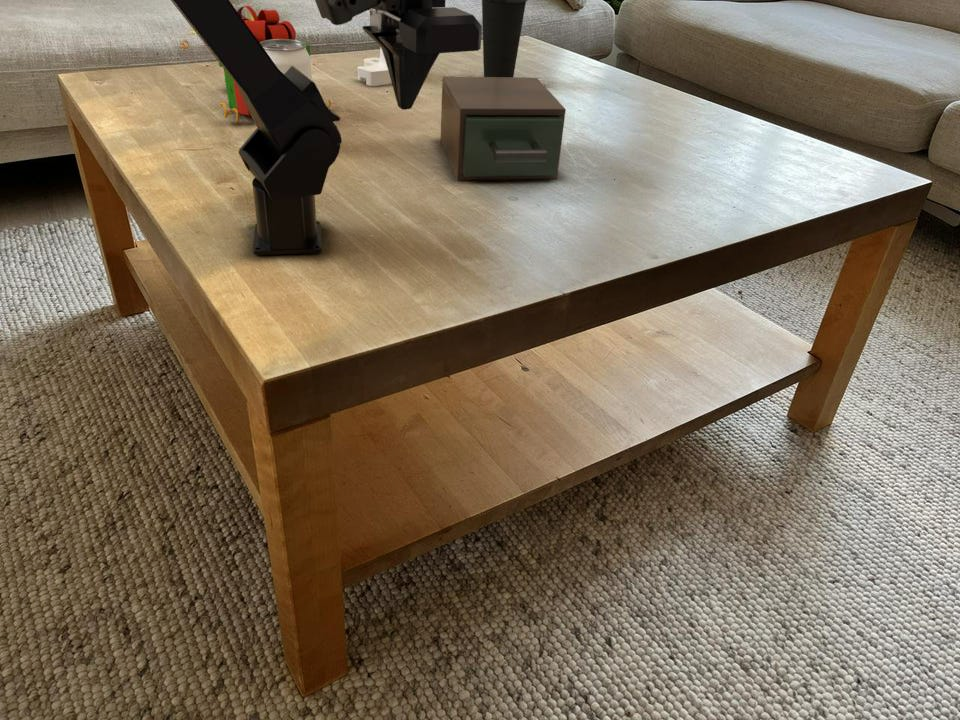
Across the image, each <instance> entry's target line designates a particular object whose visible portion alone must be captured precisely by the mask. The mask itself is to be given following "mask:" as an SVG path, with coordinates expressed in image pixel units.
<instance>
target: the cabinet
mask: <svg viewBox="0 0 960 720" xmlns="http://www.w3.org/2000/svg"><path fill="white" fill-rule="evenodd" d="M441 80H442V84H441V111H440V112H441V113H440V115H441V116H440V117H441V118H440V144H441V147H442V149H443V152H444V153H445V156H446V158H447V160H448V163H449V164H450V167H451V169H452V172H453V174H454V177H455V178H456V180H457V181H488V180H489V181H491V180H494V181H495V180H497V181H499V180H557V179H558V175H559V166H560V159H561V151H562V150H561V149H562V143H563V142H562V141H563V135H564V134H563V133H564V126H565V120H566V110H567V109H566V107H564V106H563V104H561V102H560V101H559V100H558V99H557V98H556V96H554V95H553V94H552V93H551V91H549V89H548V88H547V87H546V86H545V85H544V84H543V83H542V82H541V81H540V80H539V79H538V77H515V76H513V77H484V76H442V79H441ZM467 115H522V116H551V117H560V118H561V119H562V120H563V122H562V130H561V138H560V146H559V154H558V163H557V171H556V175H546V176H471V177H465V176H464V175H463V155H464V135H465V117H467Z"/></svg>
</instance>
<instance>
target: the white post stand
mask: <svg viewBox="0 0 960 720" xmlns="http://www.w3.org/2000/svg"><path fill="white" fill-rule="evenodd" d="M357 80H359V81H362V80H363V81H364V80H366V81H365V82H366V83H365V84H366V86H371V87H377V86H378V87H379V86H386V85H392V82H391V78H390V75H389V71H388V67H387V64H386V61H385V57H384V54H383V51H382V49H381V47H380V46H379V57H367V58H364V59H363V65H362V66H360V65H359V66H357Z"/></svg>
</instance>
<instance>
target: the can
mask: <svg viewBox="0 0 960 720" xmlns="http://www.w3.org/2000/svg"><path fill="white" fill-rule="evenodd" d="M260 44H261V45H262V47H263V48H264V50H265V51H266V52H267V54H268V55H269V57H270V58H271V59H272V61H273V62H274V63H275V65H276V66H277V68H278V69H279V70H280V71H281V72H282V73H283V74H285V73H286V72H287V71H288V69H289V68H290V67H291V66H294V67H295V68H296V69H298V70H299V71H300V72H301V73H303V74H304V75H305V76H307V77H308V78H309V79H310V80H312V81H313V75H312V74H313V73H312V61H311V55H310V56H309V54H308V52H307V50H306V45H307V44H306V43H305V42H303V41H302V40H296V39H294V40H290V39H272V40H265V41H262V42H260Z"/></svg>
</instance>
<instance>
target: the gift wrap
mask: <svg viewBox="0 0 960 720" xmlns="http://www.w3.org/2000/svg"><path fill="white" fill-rule="evenodd" d="M244 7H245V8H247V9H248V10H249V11H250V12H251V14H252V16H253V18H254V21H252V20H249V19H247V18H246V16H243V14H242V11H243V10H244ZM237 12H238V13H239V15H240V16H241V18H242V19H243V20H244V22H245V23H246V25H247V26H248V27H249V29H250V30H251V32H252V33H253V34H254V36H255V37H256V38H257V40H258V41H259V43H260V42H262V41H265V40H272V39H290V40H296V37H297V33H296V30H295V27H294V26H293V25H292V23H291V22H290V21H288V20H282V21H280V15H279V12H278V11H277V10H276V9H269V10H268V9H261V10H260V11H259V12H258V14H257V13H256V11H255V9H253V8H252V7H251V6H250V5H244V6H241V7H240V8H238V9H237ZM185 43H186V44H187V45H185ZM179 46H180V48H181V49H183V51H186V50H187V49H189V47H190V43H189V41H188V40H186V39H183V41H182V42H180V43H179ZM306 50H307V52H308V54H309V56H310V57H311V46H310V44H306ZM217 62H218V61H217ZM218 66H219V67H221V68H223V67H222V65H221V64H220V63H219V62H218ZM223 75H224V79H225V81H226V82H225V87H226V95H227V100H228V107H229V108H228V109H230V110H228V109H227V105H226V103H225V102H221V103H218V104H219V106H220V107H223V109H224V111H223V112H224V114H223V115H224V119H226V118H227V117H229V115H230V114H231V113H233V112H235V124H237V123H239V114H241V115H245V116H248V117H250V116H251V115H250V113H249V111H248V109H247V106H246V104H245V102H244V100H243V97H242V95H241V93H240V91H239V89H238V87H237V85H236V83H235V82H234V81H233V79H232V78H231V77H230V76H229V74H228V73H227V72H226V71H225V69H224V68H223ZM328 103H329V105H328V106H327V107H328V108H329V109H331V107H332V102H331V99H330V98H329V99H328ZM251 117H252V116H251Z"/></svg>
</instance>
